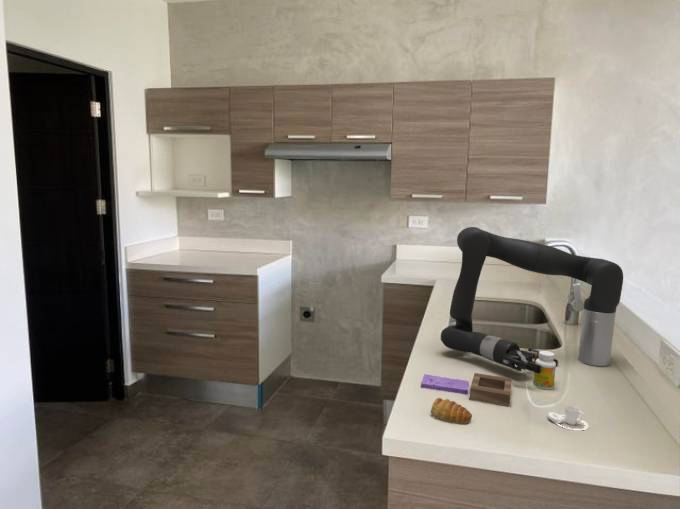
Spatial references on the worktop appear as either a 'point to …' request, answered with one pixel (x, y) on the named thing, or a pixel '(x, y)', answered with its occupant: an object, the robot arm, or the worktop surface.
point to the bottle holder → (491, 389)
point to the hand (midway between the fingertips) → (549, 366)
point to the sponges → (445, 384)
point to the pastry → (450, 411)
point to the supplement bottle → (545, 371)
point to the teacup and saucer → (568, 417)
